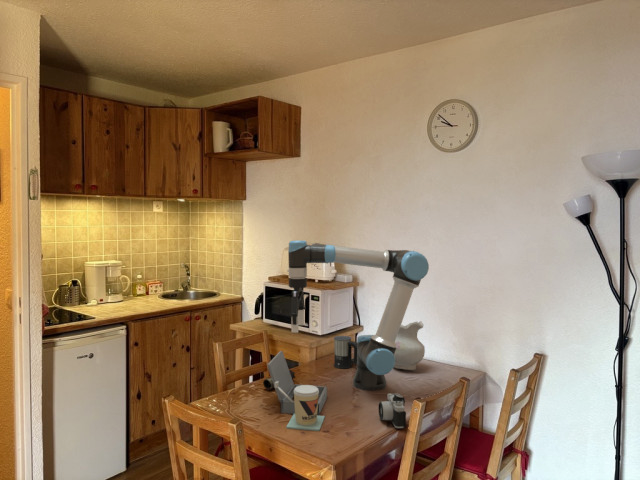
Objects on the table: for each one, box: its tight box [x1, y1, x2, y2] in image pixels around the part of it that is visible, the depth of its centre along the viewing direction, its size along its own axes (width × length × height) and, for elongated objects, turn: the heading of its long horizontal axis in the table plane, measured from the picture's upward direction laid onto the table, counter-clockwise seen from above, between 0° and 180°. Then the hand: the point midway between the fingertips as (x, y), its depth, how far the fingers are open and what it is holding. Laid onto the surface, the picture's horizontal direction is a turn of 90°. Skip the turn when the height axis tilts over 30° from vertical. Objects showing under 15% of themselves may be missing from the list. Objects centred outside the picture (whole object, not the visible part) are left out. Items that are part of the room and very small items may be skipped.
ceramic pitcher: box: [393, 321, 426, 371], centre depth 242 cm, size 22×20×25 cm
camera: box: [378, 392, 407, 429], centre depth 177 cm, size 16×9×10 cm, turn 6°
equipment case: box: [266, 350, 328, 416], centre depth 192 cm, size 21×20×19 cm
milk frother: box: [333, 335, 357, 369], centre depth 246 cm, size 14×16×15 cm
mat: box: [286, 414, 326, 432], centre depth 174 cm, size 12×12×1 cm
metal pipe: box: [262, 369, 296, 390], centre depth 215 cm, size 18×7×6 cm, turn 143°
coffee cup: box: [293, 384, 319, 425], centre depth 174 cm, size 9×9×12 cm
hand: (297, 328), depth 197 cm, fingers open, 13 cm apart
